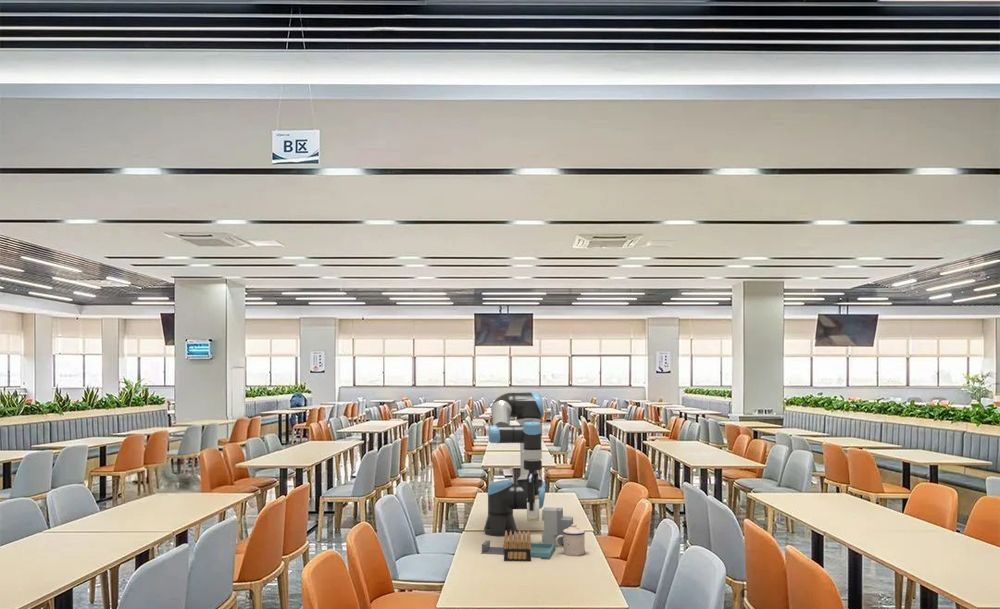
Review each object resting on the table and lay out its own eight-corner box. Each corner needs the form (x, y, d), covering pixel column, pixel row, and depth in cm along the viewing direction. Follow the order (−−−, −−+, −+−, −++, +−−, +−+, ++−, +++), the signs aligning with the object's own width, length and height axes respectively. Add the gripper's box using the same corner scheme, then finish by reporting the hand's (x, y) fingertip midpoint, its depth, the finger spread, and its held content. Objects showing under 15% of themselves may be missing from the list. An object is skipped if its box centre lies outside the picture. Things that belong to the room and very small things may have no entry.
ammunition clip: (531, 561, 295) (530, 530, 296) (530, 562, 293) (530, 531, 294) (504, 560, 296) (503, 529, 297) (503, 562, 294) (503, 530, 295)
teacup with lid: (583, 550, 312) (583, 521, 312) (586, 555, 302) (586, 526, 303) (554, 550, 311) (554, 522, 312) (557, 556, 302) (556, 526, 303)
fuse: (528, 518, 311) (528, 494, 311) (540, 519, 310) (539, 494, 310) (526, 521, 306) (525, 496, 307) (538, 521, 305) (537, 496, 306)
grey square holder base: (487, 547, 317) (487, 539, 317) (512, 548, 315) (512, 540, 315) (480, 554, 305) (480, 545, 306) (506, 555, 303) (506, 547, 303)
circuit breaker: (575, 547, 316) (575, 511, 318) (542, 546, 319) (541, 510, 320) (577, 543, 324) (576, 508, 325) (544, 542, 327) (544, 507, 328)
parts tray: (518, 548, 316) (518, 542, 316) (555, 549, 313) (555, 543, 313) (511, 557, 301) (510, 551, 301) (549, 559, 297) (549, 553, 298)
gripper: (527, 457, 319) (528, 512, 317) (519, 462, 302) (520, 521, 300) (545, 457, 318) (545, 513, 316) (538, 462, 300) (538, 521, 298)
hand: (533, 517), depth 308 cm, fingers closed on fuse, 5 cm apart
